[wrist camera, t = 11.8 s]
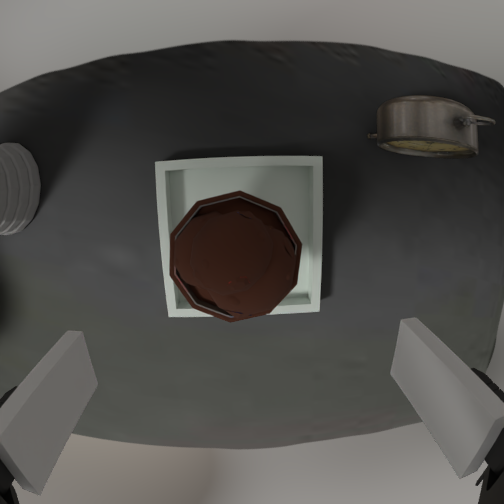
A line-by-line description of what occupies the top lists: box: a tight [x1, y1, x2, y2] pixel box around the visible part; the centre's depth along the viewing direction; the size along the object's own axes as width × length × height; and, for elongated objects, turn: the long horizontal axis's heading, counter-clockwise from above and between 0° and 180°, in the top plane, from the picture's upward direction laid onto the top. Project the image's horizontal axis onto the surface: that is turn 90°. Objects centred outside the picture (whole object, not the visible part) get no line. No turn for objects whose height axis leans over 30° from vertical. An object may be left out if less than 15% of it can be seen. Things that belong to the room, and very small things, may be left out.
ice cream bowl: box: [169, 190, 302, 322], centre depth 28 cm, size 11×11×15 cm
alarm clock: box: [367, 95, 495, 158], centre depth 25 cm, size 11×5×16 cm, turn 88°
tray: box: [155, 156, 323, 317], centre depth 34 cm, size 17×17×2 cm
